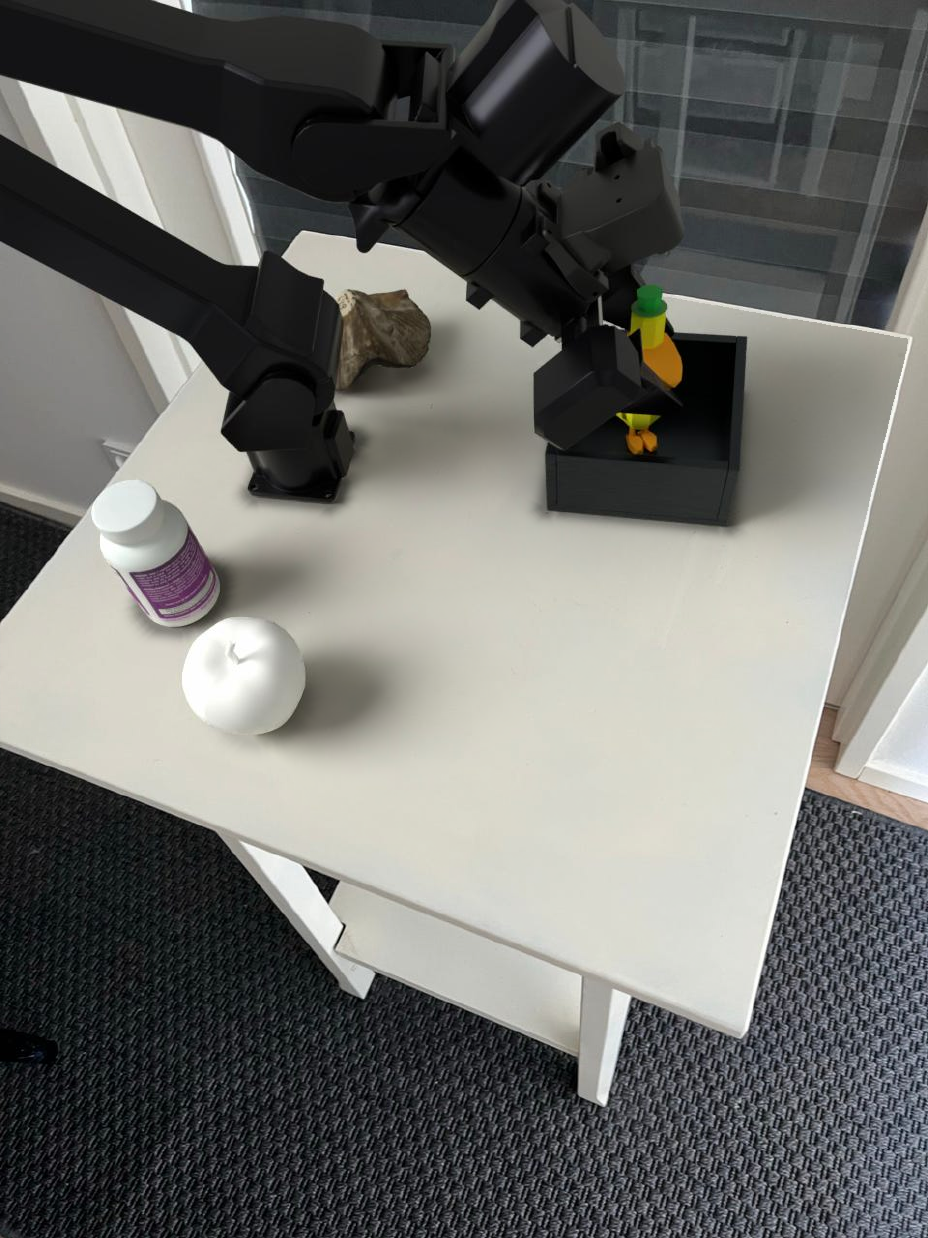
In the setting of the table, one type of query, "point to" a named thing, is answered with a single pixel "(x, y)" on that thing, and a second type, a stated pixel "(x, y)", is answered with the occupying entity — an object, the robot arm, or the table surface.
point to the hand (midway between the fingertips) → (673, 372)
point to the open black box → (665, 448)
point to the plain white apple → (244, 676)
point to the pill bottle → (155, 553)
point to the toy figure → (651, 360)
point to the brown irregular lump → (380, 333)
